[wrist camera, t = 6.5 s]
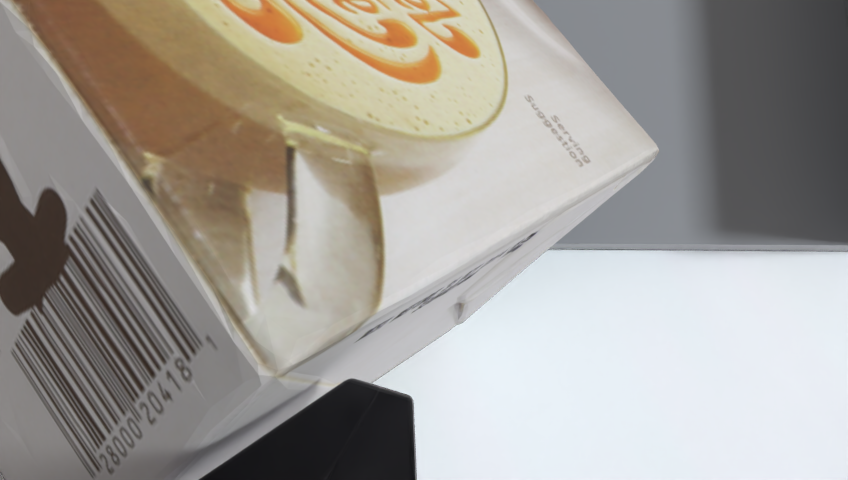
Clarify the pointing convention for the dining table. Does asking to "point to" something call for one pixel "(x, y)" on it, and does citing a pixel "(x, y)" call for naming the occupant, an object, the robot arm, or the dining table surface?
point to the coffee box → (266, 207)
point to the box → (722, 121)
